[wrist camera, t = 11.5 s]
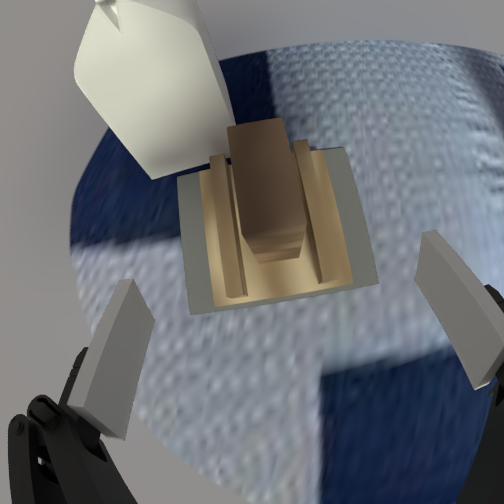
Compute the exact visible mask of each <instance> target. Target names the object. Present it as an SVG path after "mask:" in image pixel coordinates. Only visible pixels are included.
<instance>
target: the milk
mask: <svg viewBox="0 0 504 504" xmlns="http://www.w3.org/2000/svg"><path fill="white" fill-rule="evenodd" d="M95 1H96V6H95V8H94V10H93V13H92V15H91V18H90V20H89V22H88V25H87V28H86V30H85V33H84V36H83V39H82V42H81V45H80V48H79V51H78V54H77V57H76V60H75V64H74V77H75V81H76V83H77V84H78V87H79V88H80V89H81V90H82V92H83V93H84V94H85V96H86V97H87V98H88V100H89V101H90V102H91V103H92V105H93V106H94V107H95V109H96V110H97V111H98V113H99V114H100V115H101V116H102V118H103V119H104V120H105V121H106V123H107V124H108V125H109V127H110V128H111V129H112V130H113V132H114V133H115V134H116V135H117V137H118V138H119V139H120V140H121V142H122V143H123V144H124V145H125V147H126V148H127V149H128V150H129V152H130V153H131V154H132V155H133V157H134V158H135V159H136V160H137V162H138V163H139V164H140V165H141V167H142V168H143V169H144V170H145V172H146V173H147V174H148V175H149V176H150V178H151V179H152V180H153V179H156V178H159V177H162V176H165V175H169V174H172V173H175V172H179V171H182V170H186V169H189V168H192V167H196V166H200V165H203V164H207V163H210V160H209V157H210V156H214V155H219V154H224V156H225V158H230V157H231V156H230V149H229V142H228V135H227V127H229V126H234V125H236V123H235V119H234V115H233V111H232V106H231V102H230V98H229V94H228V90H227V86H226V83H225V80H224V77H223V74H222V71H221V68H220V65H219V62H218V59H217V56H216V54H215V51H214V48H213V45H212V42H211V39H210V37H209V34H208V31H207V28H206V26H205V23H204V20H203V17H202V14H201V11H200V9H199V6H198V3H197V1H196V0H95Z"/></svg>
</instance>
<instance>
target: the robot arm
mask: <svg viewBox="0 0 504 504" xmlns="http://www.w3.org/2000/svg"><path fill="white" fill-rule="evenodd" d="M415 281H416V283H417V285H418V286H419V288H420V289H421V291H422V293H423V294H424V296H425V298H426V299H427V301H428V303H429V304H430V306H431V308H432V309H433V311H434V313H435V315H436V316H437V318H438V320H439V322H440V323H441V325H442V327H443V329H444V331H445V332H446V334H447V336H448V338H449V340H450V342H451V344H452V345H453V347H454V349H455V351H456V353H457V355H458V357H459V359H460V361H461V363H462V365H463V367H464V369H465V371H466V373H467V376H468V378H469V380H470V382H471V384H472V386H473V389H474V390H476V389H478V388H481V387H483V386H485V385H487V384H489V383H490V381H491V380H492V378H493V377H494V376H495V375H496V377H497V379H498V381H497V382H496V383H495V385H494V386H493V387H492V389H491V390H490V391H489V393H488V395H487V396H488V397H490V395H491V394H492V393H493V392H494V393H493V397H492V402H491V406H490V410H489V414H488V418H487V422H486V425H485V428H484V432H483V435H482V438H481V441H480V444H479V447H478V450H477V453H476V456H475V459H474V461H473V464H472V467H471V469H470V472H469V474H468V477H467V479H466V481H465V484H464V486H463V488H462V490H461V493H460V495H459V497H458V499H457V501H456V503H455V504H504V298H503V297H502V296H501V295H500V293H499V292H498V291H497V290H496V289H494V288H493V287H492V286H490V285H489V284H488V285H485V286H483V285H482V283H481V282H480V281H479V279H478V278H477V277H476V276H475V274H474V273H473V272H472V271H471V270H470V268H469V267H468V266H467V265H466V263H465V262H464V261H463V260H462V259H461V258H460V256H459V255H458V254H457V253H456V252H455V251H454V249H453V248H452V247H451V246H450V245H449V244H448V243H447V242H446V240H445V239H444V238H443V237H442V236H441V235H440V234H439V233H438V232H437V231H436V230H433V231H427V232H422V239H421V246H420V253H419V259H418V265H417V271H416V276H415ZM154 323H155V319H154V318H153V316H152V314H151V312H150V310H149V308H148V306H147V305H146V303H145V301H144V299H143V297H142V295H141V293H140V291H139V289H138V287H137V285H136V283H135V281H134V279H126V280H120V281H119V282H118V284H117V286H116V288H115V291H114V293H113V295H112V297H111V299H110V301H109V303H108V305H107V307H106V309H105V312H104V314H103V316H102V318H101V320H100V323H99V325H98V327H97V329H96V332H95V334H94V336H93V339H92V341H91V343H90V345H89V347H85V348H83V350H82V351H81V352H80V353H79V355H78V356H77V357H76V360H75V362H74V365H73V369H72V370H71V372H70V377H68V380H67V382H66V385H65V387H64V390H63V393H62V395H61V398H60V401H59V404H58V405H57V404H56V403H55V402H54V401H53V400H52V399H50V398H49V397H48V396H46V395H39V396H37V397H35V398H34V399H33V400H32V401H31V403H30V404H29V406H28V409H27V417H28V418H27V417H26V416H25V415H23V414H18V415H16V416H15V417H13V419H12V420H11V422H10V424H9V428H8V464H9V479H10V490H11V499H12V504H138V503H137V502H136V500H135V498H134V497H133V495H132V494H131V492H130V490H129V489H128V487H127V486H126V484H125V482H124V480H123V479H122V477H121V475H120V473H119V472H118V470H117V468H116V466H115V465H114V463H113V461H112V459H111V457H110V455H109V453H108V451H107V449H106V447H105V445H104V443H103V442H102V440H101V439H99V438H100V434H101V433H102V434H103V435H105V436H106V437H107V438H109V439H114V440H122V441H125V437H126V433H127V428H128V423H129V419H130V414H131V410H132V406H133V401H134V397H135V393H136V389H137V385H138V381H139V377H140V373H141V369H142V366H143V362H144V358H145V354H146V351H147V347H148V344H149V340H150V337H151V333H152V330H153V326H154ZM38 457H39V458H41V459H42V463H41V464H39V463H38Z"/></svg>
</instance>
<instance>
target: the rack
mask: <svg viewBox="0 0 504 504" xmlns="http://www.w3.org/2000/svg"><path fill="white" fill-rule="evenodd" d="M292 157H293V162H294V166H295V170H296V174H297V179H298V183H299V188H300V192H301V197H302V201H303V206H304V211H305V216H306V220H307V226H306V230H305V235H304V239H303V243H302V248H301V252H300V256H299V258H295V259H289V260H283V261H277V262H271V263H265V264H259V263H258V261H257V260H256V258H255V256H254V255H253V253H252V251H251V249H250V248H249V246H248V244H247V243H246V241H245V239H244V238H243V236H242V234H241V227H240V220H239V213H238V206H237V199H236V192H235V185H234V178H233V170H232V164H231V165H228V163H227V161H226V158H225V156H224V154H219V155H214V156H210V157H209V160H210V169H207V170H203V171H199V176H200V187H201V197H202V207H203V217H204V226H205V235H206V244H207V252H208V260H209V269H210V276H211V284H212V292H213V299H214V306H216V307H217V306H224V305H231V304H238V303H245V302H251V301H258V300H264V299H271V298H277V297H283V296H289V295H295V294H300V293H306V292H312V291H317V290H323V289H328V288H333V287H339V286H344V285H349V284H353V278H352V273H351V268H350V263H349V258H348V253H347V248H346V243H345V239H344V234H343V230H342V225H341V221H340V217H339V212H338V208H337V204H336V200H335V196H334V192H333V188H332V185H331V181H330V177H329V173H328V170H327V166H326V162H325V159H324V155H323V152H322V150H316V151H310V148H309V144H308V140H307V139H305V140H298V141H293V148H292Z"/></svg>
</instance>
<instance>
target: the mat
mask: <svg viewBox="0 0 504 504" xmlns="http://www.w3.org/2000/svg"><path fill="white" fill-rule="evenodd" d="M322 152H323V155H324V159H325V162H326V166H327V170H328V173H329V177H330V181H331V185H332V188H333V192H334V196H335V200H336V204H337V208H338V212H339V217H340V221H341V225H342V230H343V234H344V239H345V243H346V248H347V253H348V258H349V263H350V268H351V273H352V278H353V284H349V285H344V286H339V287H333V288H328V289H323V290H317V291H312V292H306V293H300V294H295V295H289V296H283V297H277V298H271V299H264V300H258V301H251V302H245V303H238V304H231V305H224V306H217V307H216V306H214V299H213V292H212V284H211V276H210V269H209V260H208V252H207V244H206V235H205V226H204V217H203V207H202V197H201V187H200V176H199V172H196V173H192V174H187V175H183V176H179V177H177V186H178V201H179V215H180V227H181V239H182V249H183V259H184V269H185V278H186V286H187V295H188V303H189V310H190V315H194V314H202V313H210V312H217V311H224V310H231V309H238V308H245V307H252V306H258V305H265V304H271V303H277V302H283V301H289V300H295V299H301V298H307V297H312V296H318V295H323V294H329V293H334V292H339V291H344V290H349V289H354V288H359V287H364V286H369V285H374V284H378V283H379V282H378V276H377V271H376V266H375V261H374V256H373V252H372V247H371V243H370V238H369V234H368V230H367V226H366V222H365V218H364V214H363V210H362V206H361V202H360V198H359V195H358V191H357V187H356V184H355V181H354V177H353V174H352V170H351V167H350V164H349V161H348V157H347V154H346V151H345V148H335V149H327V150H322Z"/></svg>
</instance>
